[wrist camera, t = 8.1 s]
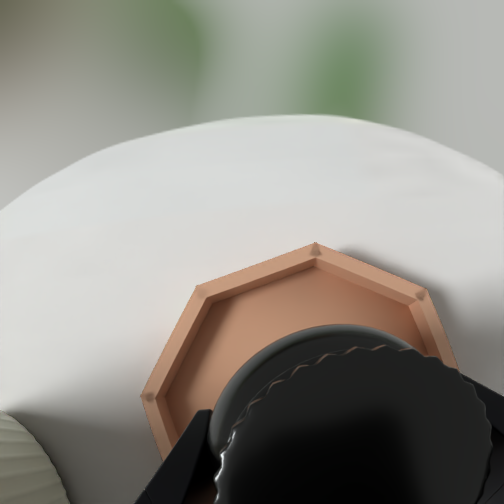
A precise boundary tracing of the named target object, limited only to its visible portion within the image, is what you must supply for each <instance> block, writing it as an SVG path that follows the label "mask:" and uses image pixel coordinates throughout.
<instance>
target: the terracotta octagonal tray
mask: <svg viewBox="0 0 504 504" xmlns="http://www.w3.org/2000/svg"><path fill="white" fill-rule="evenodd" d="M329 324H355V325H363V326H368V327H373V328H376V329H379V330H383V331H385V332H388V333H390V334H393V335H395V336H397V337H399V338H400V339H402V340H404V341H406V342H407V343H409V344H410V345H412V346H413V347H414V348H415V349H417V350H418V351H419V352H420V353H421V354H422V355H423V356H437V357H438V358H439V359H440V360H441V361H442V362H443V364H445V365H447V366H448V367H452V368H456V369H458V371H459V368H458V365H457V363H456V360H455V357H454V354H453V352H452V349H451V346H450V344H449V341H448V339H447V336H446V334H445V331H444V329H443V326H442V324H441V321H440V319H439V316H438V314H437V312H436V309H435V307H434V305H433V302H432V300H431V298H430V296H429V293H428V291H427V289H426V288H423V287H421V286H419V285H416V284H414V283H412V282H409V281H407V280H405V279H402V278H400V277H398V276H395V275H393V274H391V273H388V272H386V271H383V270H381V269H379V268H376V267H374V266H371V265H369V264H367V263H364V262H362V261H359V260H357V259H355V258H352V257H350V256H347V255H345V254H342V253H340V252H337V251H335V250H333V249H330V248H328V247H325V246H323V245H320V244H318V243H317V242H316V243H315V242H314V243H313V244H310V245H308V246H305V247H302V248H300V249H297V250H294V251H291V252H289V253H286V254H283V255H280V256H278V257H275V258H272V259H270V260H267V261H264V262H261V263H259V264H256V265H253V266H250V267H248V268H245V269H242V270H239V271H237V272H234V273H231V274H228V275H225V276H223V277H220V278H217V279H214V280H212V281H209V282H206V283H203V284H200V285H197V286H196V288H195V290H194V292H193V294H192V296H191V297H190V299H189V301H188V303H187V305H186V307H185V309H184V311H183V313H182V315H181V317H180V318H179V320H178V322H177V324H176V326H175V328H174V330H173V332H172V334H171V336H170V338H169V340H168V342H167V344H166V346H165V348H164V350H163V352H162V354H161V356H160V358H159V360H158V362H157V363H156V365H155V367H154V369H153V371H152V373H151V375H150V377H149V380H148V382H147V384H146V386H145V388H144V390H143V392H142V394H141V395H140V397H141V399H142V402H143V406H144V409H145V412H146V415H147V418H148V421H149V424H150V427H151V430H152V433H153V436H154V439H155V441H156V444H157V447H158V450H159V452H160V455H161V458H162V460H163V462H164V460H165V459H166V457H167V456H168V454H169V453H170V451H171V450H172V448H173V447H174V445H175V444H176V442H177V441H178V439H179V438H180V436H181V435H182V433H183V432H184V430H185V429H186V427H187V426H188V424H189V423H190V421H191V420H192V418H193V417H194V415H195V414H196V412H197V411H198V410H201V409H211V410H212V411H213V410H214V407H215V405H216V402H217V400H218V398H219V396H220V394H221V393H222V391H223V389H224V388H225V386H226V385H227V383H228V382H229V380H230V379H231V378H232V376H233V375H234V374H235V373H236V372H237V370H238V369H239V368H240V367H241V366H242V365H243V364H244V363H245V362H246V361H247V360H249V359H250V358H251V357H252V356H253V355H255V354H256V353H257V352H259V351H260V350H261V349H263V348H264V347H266V346H267V345H269V344H271V343H273V342H274V341H276V340H278V339H280V338H282V337H284V336H286V335H289V334H291V333H294V332H297V331H300V330H303V329H307V328H310V327H315V326H321V325H329ZM459 372H460V371H459Z"/></svg>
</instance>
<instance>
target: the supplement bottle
mask: <svg viewBox="0 0 504 504" xmlns="http://www.w3.org/2000/svg"><path fill="white" fill-rule="evenodd" d="M491 428H492V426H491V424H490V422H489V420H488V419H487V418H486V407H485V404H484V403H483V401H482V400H480V399H479V398H478V397H477V394H476V390H475V387H474V385H473V384H471V383H469V382H466V381H464V380H463V378H462V376H461V374H460V372H459V371H458V369H456V368H452V367H446V366H445V365H444V364H443V362H442V361H441V360H440V359H439V358H438V357H437V356H423V355H422V354H421V353H420V352H419V351H418V350H417V349H415V348H414V347H413V346H412V345H410V344H409V343H407V342H406V341H404V340H402V339H400V338H399V337H397V336H395V335H393V334H390V333H388V332H385V331H383V330H379V329H376V328H373V327H368V326H363V325H355V324H329V325H321V326H315V327H310V328H307V329H303V330H300V331H297V332H294V333H291V334H289V335H286V336H284V337H282V338H280V339H278V340H276V341H274V342H273V343H271V344H269V345H267V346H266V347H264V348H263V349H261V350H260V351H259V352H257V353H256V354H255V355H253V356H252V357H251V358H250V359H249V360H247V361H246V362H245V363H244V364H243V365H242V366H241V367H240V368H239V369H238V370H237V372H236V373H235V374H234V375H233V376H232V378H231V379H230V380H229V382H228V383H227V385H226V386H225V388H224V389H223V391H222V393H221V394H220V396H219V398H218V400H217V402H216V405H215V407H214V410H213V412H212V415H211V419H210V422H209V427H208V432H207V443H206V452H207V463H208V469H209V473H210V477H211V480H212V482H213V485H214V487H215V490H216V492H217V493H216V494H215V497H214V500H213V504H477V503H478V502H479V501H480V499H481V498H482V496H483V494H484V488H485V483H486V481H487V479H488V477H489V475H490V472H491V466H490V459H491V456H492V452H493V445H492V442H491V440H490V436H491Z"/></svg>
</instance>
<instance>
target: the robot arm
mask: <svg viewBox="0 0 504 504" xmlns="http://www.w3.org/2000/svg"><path fill="white" fill-rule="evenodd" d="M444 365H445V364H444ZM445 366H446V367H448V366H447V365H445ZM460 374H461V373H460ZM461 376H462V378H463V380H464V381H466V382H469V383H471V384H473V385H474V387H475V390H476V394H477V397H478V398H479V399H480V400H482V401H483V403H484V404H485V407H486V418H487V419H488V420H489V422H490V424H491V426H492V428H491V436H490V440H491V442H492V445H493V452H492V456H491V459H490V466H491V472H490V475H489V477H488V479H487V481H486V483H485V488H484V494H483V496H482V498H481V499H480V501H479V502H478V503H477V504H504V397H503V396H502V395H500V394H498V393H496V392H494V391H492V390H491V389H489V388H487V387H485V386H483V385H481V384H480V383H478V382H476V381H474V380H472V379H470V378H469V377H467V376H465V375H463V374H461ZM212 412H213V411H212V410H211V409H201V410H198V411H197V412H196V414H195V415H194V417H193V418H192V420H191V421H190V423H189V424H188V426H187V427H186V429H185V430H184V432H183V433H182V435H181V436H180V438H179V439H178V441H177V442H176V444H175V445H174V447H173V448H172V450H171V451H170V453H169V454H168V456H167V457H166V459H165V460H164V462H163V463H162V465H161V466H160V467H159V469H158V470H157V472H156V473H155V475H154V476H153V478H152V479H151V481H150V482H149V483H148V485H147V486H146V488H145V490H146V491H145V490H143V492H142V493H141V495H140V496H139V497H138V499H137V500H136V501H135V503H134V504H213V500H214V497H215V494H216V493H217V492H216V490H215V487H214V485H213V482H212V480H211V477H210V473H209V469H208V463H207V452H206V443H207V432H208V427H209V422H210V419H211V415H212Z"/></svg>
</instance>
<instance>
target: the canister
mask: <svg viewBox="0 0 504 504" xmlns="http://www.w3.org/2000/svg"><path fill="white" fill-rule="evenodd" d="M0 504H70V502H69V500H68V498H67V496H66V490H65V489H64V487H63V485H62V482H61V478H60V477H59V476H58V474H57V471H56V468H55V467H54V466H53V464H52V463H51V461H50V458H49V456H48V455H47V454H46V453H45V452H44V450H43V448H42V446H41V445H40V444H39V443H38V442H37V441H36V440H35V438H34V436H33V435H32V434H30V433H29V432H28V431H27V429H26V428H25V427H24V426H23V425H21V424H20V423H18V421H17V420H15V419H14V418H13V417H11V416H9V415H7V414H6V413H5V412H3V411H1V410H0Z"/></svg>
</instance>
